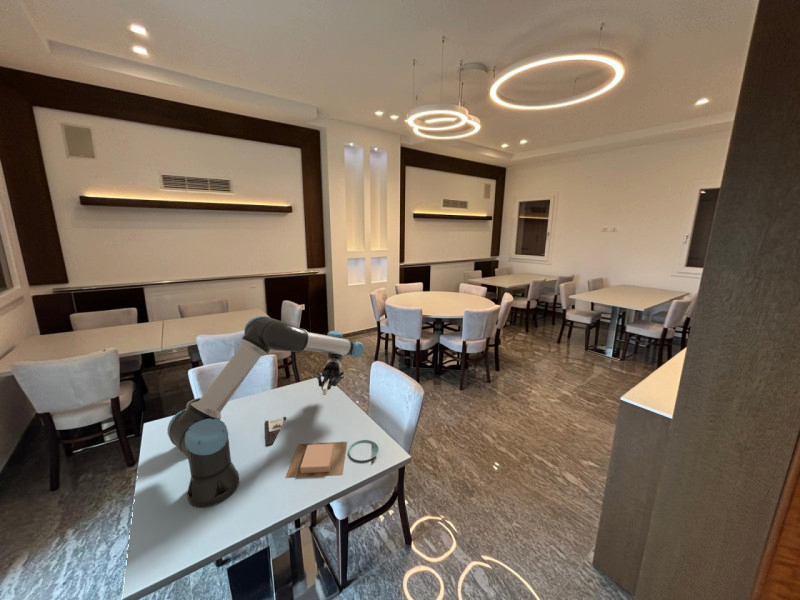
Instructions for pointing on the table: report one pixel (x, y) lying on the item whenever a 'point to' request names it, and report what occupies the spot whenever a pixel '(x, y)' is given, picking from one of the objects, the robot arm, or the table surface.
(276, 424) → the chocolate bar
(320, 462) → the tile
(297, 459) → the board
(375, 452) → the saucer
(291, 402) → the table surface
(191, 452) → the robot arm
